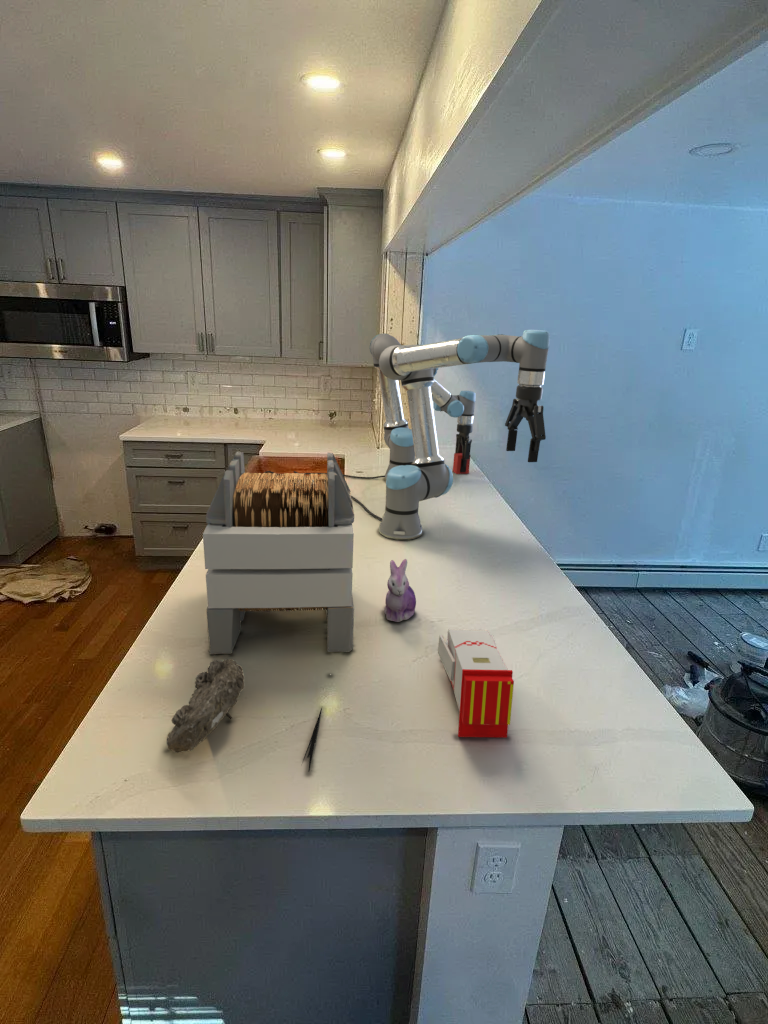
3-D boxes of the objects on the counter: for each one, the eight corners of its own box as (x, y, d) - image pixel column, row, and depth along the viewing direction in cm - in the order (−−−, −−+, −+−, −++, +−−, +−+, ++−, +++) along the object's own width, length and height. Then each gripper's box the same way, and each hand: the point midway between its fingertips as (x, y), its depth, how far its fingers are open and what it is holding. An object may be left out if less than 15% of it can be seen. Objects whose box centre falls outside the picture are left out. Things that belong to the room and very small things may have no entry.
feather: (331, 679, 122) (336, 673, 122) (307, 777, 96) (313, 769, 95) (324, 675, 122) (329, 669, 121) (298, 772, 95) (304, 764, 95)
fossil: (192, 660, 117) (244, 628, 112) (224, 691, 120) (276, 661, 115) (142, 746, 98) (202, 712, 93) (182, 779, 101) (242, 748, 96)
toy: (488, 613, 130) (523, 677, 101) (484, 667, 133) (517, 744, 104) (435, 612, 130) (455, 676, 101) (432, 666, 133) (451, 743, 103)
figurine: (392, 627, 141) (395, 572, 136) (374, 608, 149) (376, 556, 144) (425, 619, 145) (429, 566, 140) (405, 601, 154) (408, 550, 149)
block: (468, 473, 278) (470, 455, 275) (456, 474, 277) (457, 455, 273) (465, 470, 283) (466, 452, 279) (452, 471, 281) (454, 453, 278)
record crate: (229, 585, 158) (221, 442, 144) (346, 584, 161) (350, 444, 148) (206, 656, 126) (193, 481, 112) (353, 652, 130) (358, 483, 116)
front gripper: (565, 391, 155) (553, 466, 163) (520, 380, 178) (512, 446, 185) (540, 391, 153) (530, 467, 161) (499, 379, 176) (491, 446, 183)
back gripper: (480, 427, 264) (475, 475, 272) (465, 420, 280) (460, 465, 288) (465, 427, 262) (460, 476, 270) (450, 420, 278) (447, 466, 286)
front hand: (521, 456), depth 173 cm, fingers open, 13 cm apart
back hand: (460, 470), depth 279 cm, fingers closed on block, 5 cm apart
